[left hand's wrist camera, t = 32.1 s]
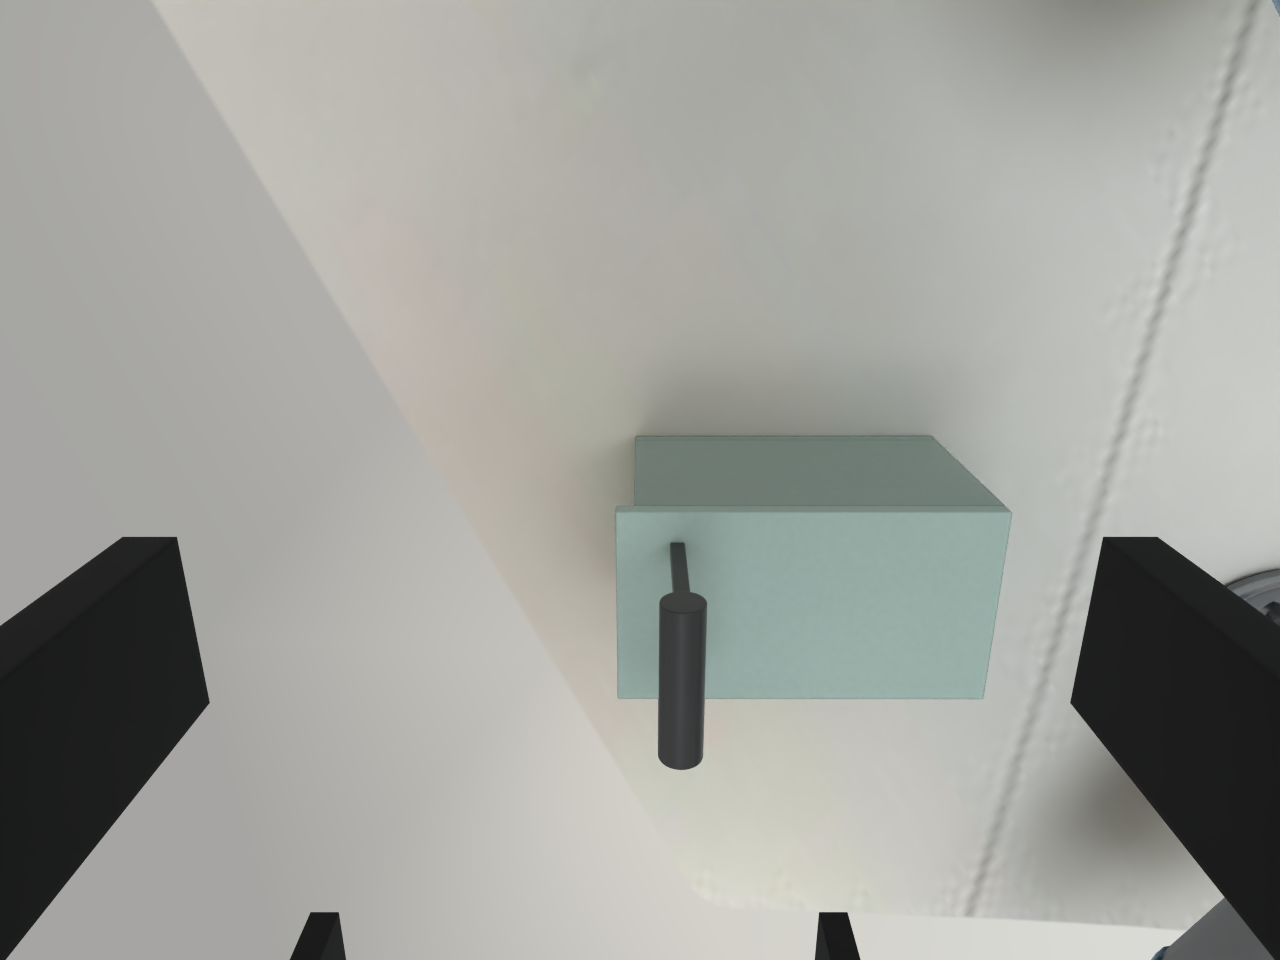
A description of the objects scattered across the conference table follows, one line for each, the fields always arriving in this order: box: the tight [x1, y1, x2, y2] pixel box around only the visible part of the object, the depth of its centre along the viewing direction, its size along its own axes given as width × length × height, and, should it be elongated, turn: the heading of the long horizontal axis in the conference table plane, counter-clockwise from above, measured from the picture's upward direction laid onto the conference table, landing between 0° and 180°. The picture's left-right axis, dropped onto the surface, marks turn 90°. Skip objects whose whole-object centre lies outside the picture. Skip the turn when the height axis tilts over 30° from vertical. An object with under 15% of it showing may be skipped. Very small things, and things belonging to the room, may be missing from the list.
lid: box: [616, 506, 1012, 770], centre depth 39 cm, size 18×10×8 cm, turn 90°
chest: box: [634, 436, 1005, 506], centre depth 48 cm, size 17×10×11 cm, turn 90°
